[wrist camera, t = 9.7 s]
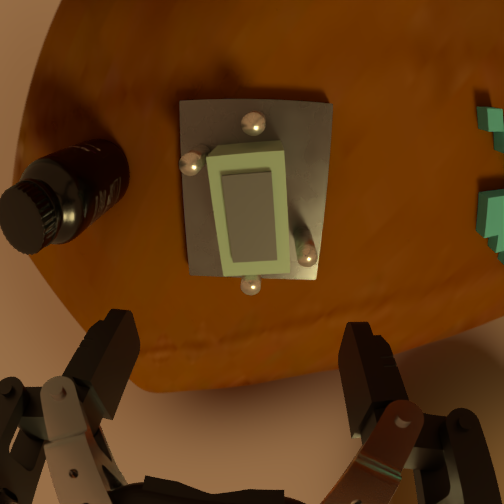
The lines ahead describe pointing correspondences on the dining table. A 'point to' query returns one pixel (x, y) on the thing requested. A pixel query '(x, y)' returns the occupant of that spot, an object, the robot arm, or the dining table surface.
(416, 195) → the dining table surface
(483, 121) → the alien figure
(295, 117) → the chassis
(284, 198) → the block
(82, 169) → the supplement bottle
